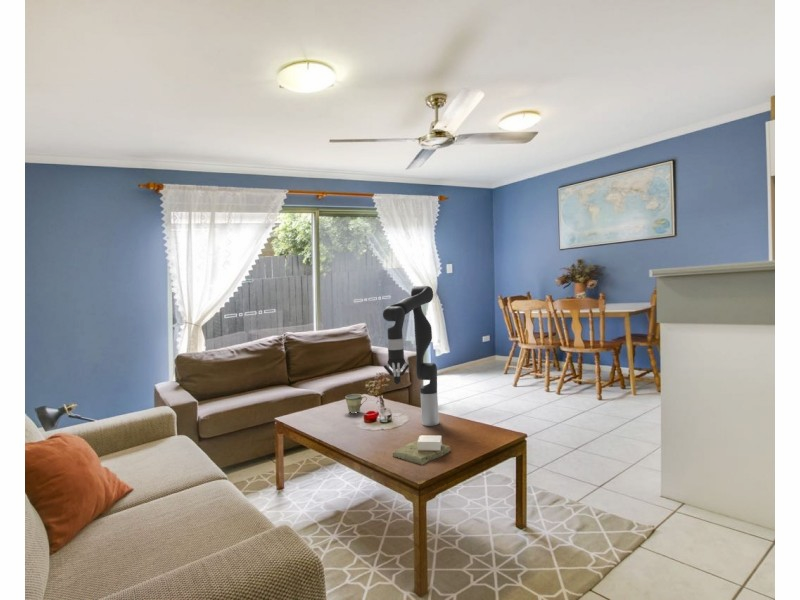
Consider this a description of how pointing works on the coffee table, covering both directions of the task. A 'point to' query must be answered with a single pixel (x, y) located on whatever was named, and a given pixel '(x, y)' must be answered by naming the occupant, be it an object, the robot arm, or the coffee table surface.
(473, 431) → the coffee table surface
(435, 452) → the decorative tile
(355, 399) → the ceramic cup
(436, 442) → the white rectangular block
